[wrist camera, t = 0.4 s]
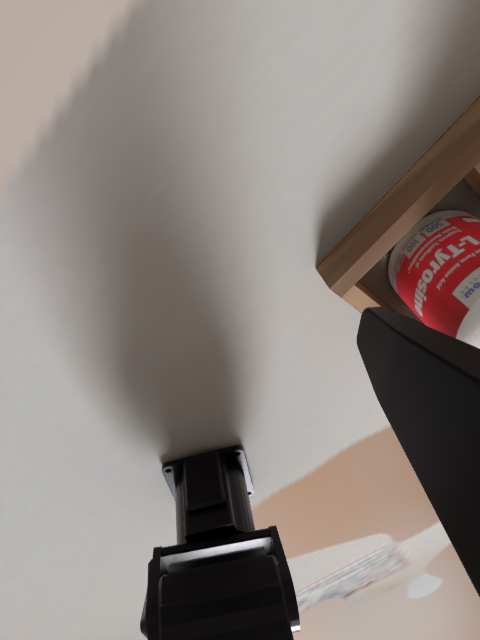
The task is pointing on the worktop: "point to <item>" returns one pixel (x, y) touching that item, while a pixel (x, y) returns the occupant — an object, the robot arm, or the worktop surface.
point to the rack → (404, 209)
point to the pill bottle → (441, 273)
